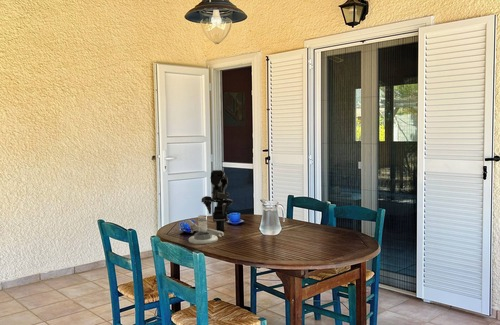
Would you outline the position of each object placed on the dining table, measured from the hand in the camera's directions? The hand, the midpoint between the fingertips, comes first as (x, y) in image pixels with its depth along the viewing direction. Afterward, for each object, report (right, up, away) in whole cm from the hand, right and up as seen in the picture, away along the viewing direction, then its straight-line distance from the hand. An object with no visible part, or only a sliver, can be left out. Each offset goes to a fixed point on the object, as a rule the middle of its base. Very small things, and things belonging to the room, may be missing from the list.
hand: (217, 214), depth 278 cm
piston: (-8, -13, -6) cm, 16 cm away
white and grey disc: (-8, -14, -6) cm, 17 cm away
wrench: (-9, -14, +10) cm, 19 cm away
